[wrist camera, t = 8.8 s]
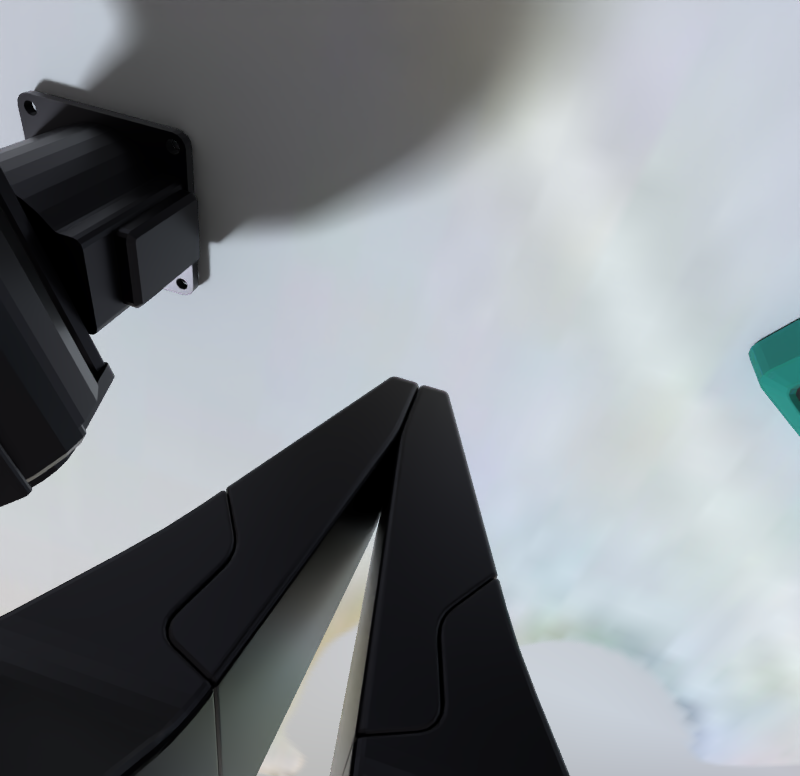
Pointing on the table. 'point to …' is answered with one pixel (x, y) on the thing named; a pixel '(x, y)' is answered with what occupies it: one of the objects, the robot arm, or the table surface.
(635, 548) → the table surface
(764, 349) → the digital multimeter
